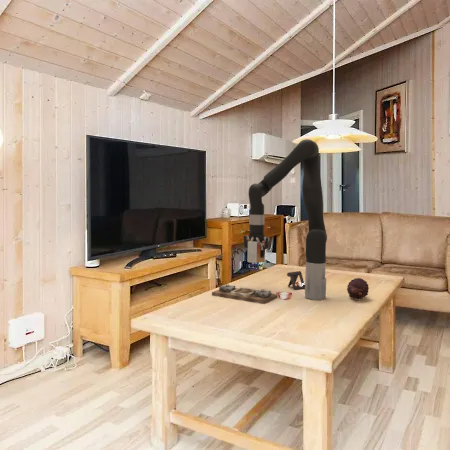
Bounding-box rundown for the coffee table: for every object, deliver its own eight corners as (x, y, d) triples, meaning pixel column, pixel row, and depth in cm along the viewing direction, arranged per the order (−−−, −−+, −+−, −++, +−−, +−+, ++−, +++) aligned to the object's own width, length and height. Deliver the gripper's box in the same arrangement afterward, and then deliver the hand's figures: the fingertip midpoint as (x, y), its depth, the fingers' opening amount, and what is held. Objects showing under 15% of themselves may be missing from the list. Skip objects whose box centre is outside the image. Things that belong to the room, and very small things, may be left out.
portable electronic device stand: (295, 290, 219) (296, 274, 218) (284, 287, 225) (285, 271, 225) (307, 288, 224) (307, 272, 223) (296, 285, 230) (297, 270, 230)
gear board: (277, 297, 203) (277, 288, 203) (264, 303, 191) (265, 294, 191) (226, 289, 217) (226, 281, 217) (211, 295, 205) (212, 286, 205)
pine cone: (347, 293, 214) (348, 273, 213) (368, 295, 211) (369, 275, 210) (345, 302, 197) (346, 280, 197) (368, 304, 194) (369, 282, 193)
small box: (256, 263, 210) (256, 242, 209) (247, 262, 214) (247, 241, 213) (265, 261, 216) (265, 241, 216) (255, 260, 220) (256, 240, 219)
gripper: (273, 223, 213) (272, 257, 214) (247, 222, 220) (246, 254, 222) (266, 224, 207) (266, 259, 208) (240, 223, 214) (240, 256, 215)
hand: (256, 256), depth 215 cm, fingers closed on small box, 6 cm apart
